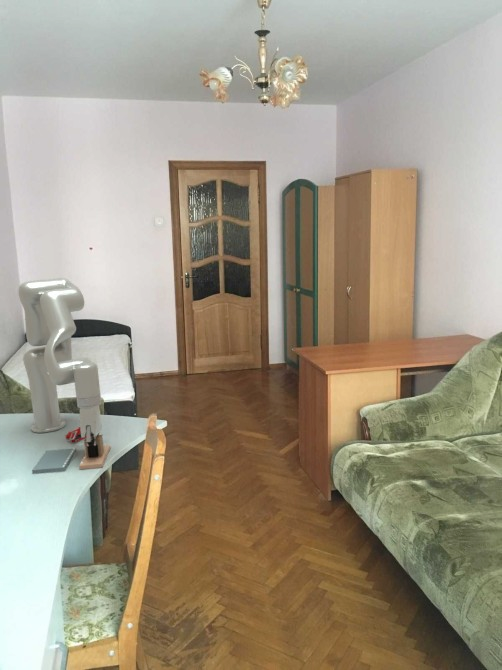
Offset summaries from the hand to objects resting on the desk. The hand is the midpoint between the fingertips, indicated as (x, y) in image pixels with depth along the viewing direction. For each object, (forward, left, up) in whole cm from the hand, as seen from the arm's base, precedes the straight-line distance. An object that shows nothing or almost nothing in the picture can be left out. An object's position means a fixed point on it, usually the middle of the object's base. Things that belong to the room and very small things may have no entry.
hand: (95, 453), depth 181 cm
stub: (0, 0, -2) cm, 2 cm away
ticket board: (0, -13, -2) cm, 13 cm away
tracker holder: (-21, -11, -2) cm, 24 cm away
